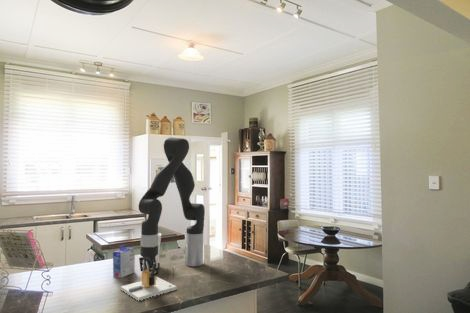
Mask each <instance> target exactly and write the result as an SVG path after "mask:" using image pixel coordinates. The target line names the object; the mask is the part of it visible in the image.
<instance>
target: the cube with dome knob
mask: <svg viewBox="0 0 470 313" xmlns="http://www.w3.org/2000/svg"><path fill="white" fill-rule="evenodd" d="M155 273H156V272H155ZM151 274H152V271H151ZM156 277H157V276H155V277H154V285H156ZM141 281H142V285H143V286H145V287H150V285H149V272H148V271H147V269H146V270H145V271H143V272H142V271H141ZM152 286H153V285H152Z"/></svg>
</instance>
